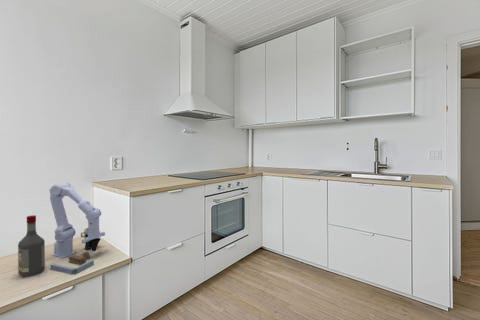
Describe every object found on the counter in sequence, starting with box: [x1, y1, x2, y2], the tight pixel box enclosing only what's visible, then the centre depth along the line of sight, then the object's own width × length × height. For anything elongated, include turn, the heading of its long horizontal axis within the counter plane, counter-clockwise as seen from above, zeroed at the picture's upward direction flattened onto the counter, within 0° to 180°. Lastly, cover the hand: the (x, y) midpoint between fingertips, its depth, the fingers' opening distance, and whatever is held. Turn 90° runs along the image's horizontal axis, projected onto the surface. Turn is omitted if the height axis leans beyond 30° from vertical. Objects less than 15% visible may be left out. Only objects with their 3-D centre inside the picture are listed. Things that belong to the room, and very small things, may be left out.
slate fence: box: [49, 259, 95, 275], centre depth 128 cm, size 17×12×2 cm
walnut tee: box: [68, 251, 91, 266], centre depth 135 cm, size 8×9×4 cm
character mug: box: [80, 227, 101, 250], centre depth 152 cm, size 11×7×13 cm, turn 113°
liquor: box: [17, 214, 46, 278], centre depth 120 cm, size 9×9×30 cm
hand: (93, 250), depth 142 cm, fingers closed
